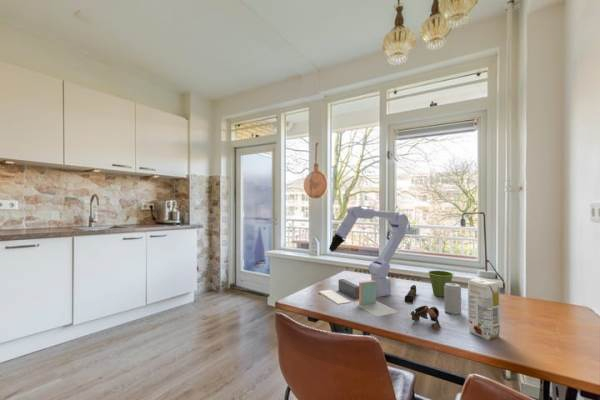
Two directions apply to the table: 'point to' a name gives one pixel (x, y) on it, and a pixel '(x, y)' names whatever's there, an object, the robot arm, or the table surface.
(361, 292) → the tile
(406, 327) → the table surface
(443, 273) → the plant pot
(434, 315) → the brown toy animal
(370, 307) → the mat
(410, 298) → the hand tool
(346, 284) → the dark grey block
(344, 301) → the tool rest
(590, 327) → the table surface
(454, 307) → the beverage can
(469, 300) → the juice carton
